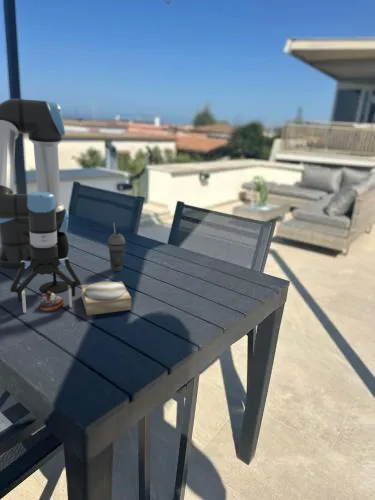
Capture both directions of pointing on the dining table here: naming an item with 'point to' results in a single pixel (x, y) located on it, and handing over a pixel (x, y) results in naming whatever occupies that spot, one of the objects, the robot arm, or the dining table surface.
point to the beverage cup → (116, 250)
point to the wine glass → (62, 253)
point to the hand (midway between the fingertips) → (48, 308)
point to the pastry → (51, 302)
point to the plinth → (105, 297)
